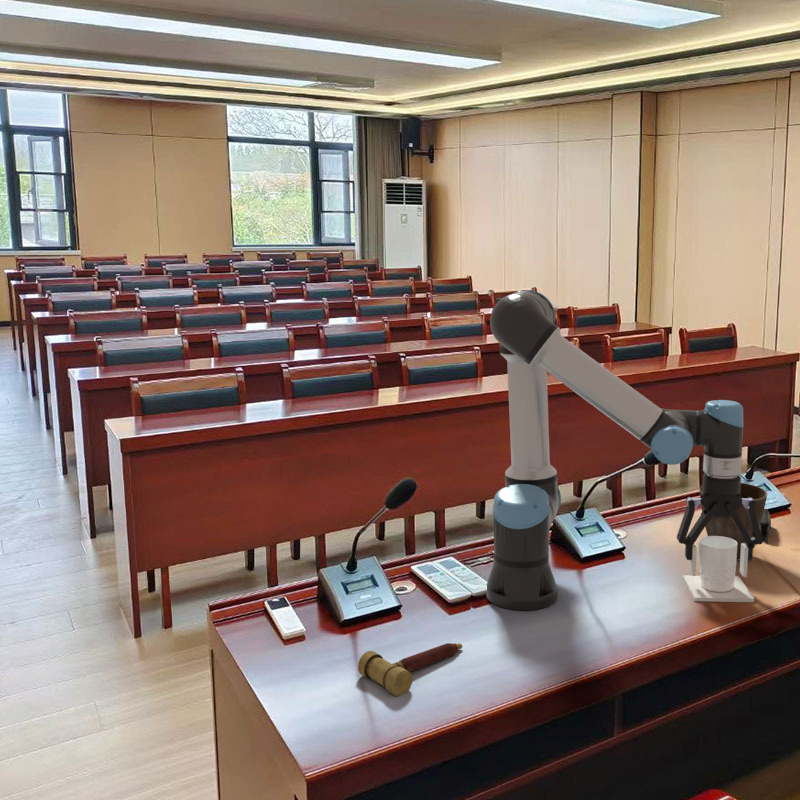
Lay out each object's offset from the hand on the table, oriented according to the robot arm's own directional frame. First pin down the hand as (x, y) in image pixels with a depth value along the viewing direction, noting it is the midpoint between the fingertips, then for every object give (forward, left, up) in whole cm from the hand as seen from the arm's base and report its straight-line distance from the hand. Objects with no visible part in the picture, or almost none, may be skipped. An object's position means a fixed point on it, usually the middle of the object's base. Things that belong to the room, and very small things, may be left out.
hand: (717, 573), depth 183 cm
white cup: (0, 0, -3) cm, 3 cm away
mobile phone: (+20, +37, -4) cm, 42 cm away
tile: (0, 0, -4) cm, 4 cm away
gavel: (-61, -37, -4) cm, 72 cm away
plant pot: (+8, +21, -4) cm, 23 cm away
